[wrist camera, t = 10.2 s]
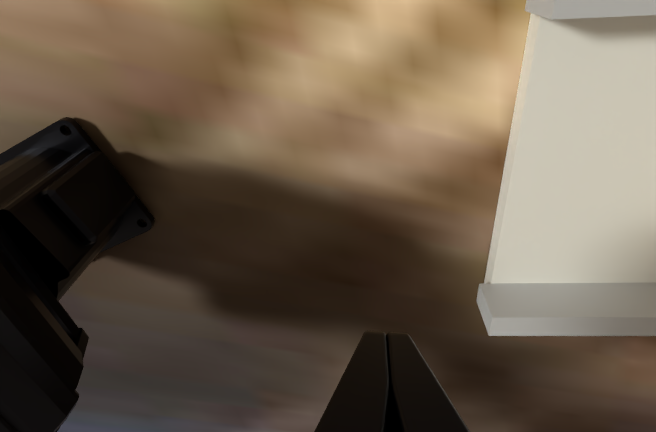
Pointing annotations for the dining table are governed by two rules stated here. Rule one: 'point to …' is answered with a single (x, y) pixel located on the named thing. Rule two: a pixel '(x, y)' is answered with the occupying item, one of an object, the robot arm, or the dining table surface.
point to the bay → (579, 178)
